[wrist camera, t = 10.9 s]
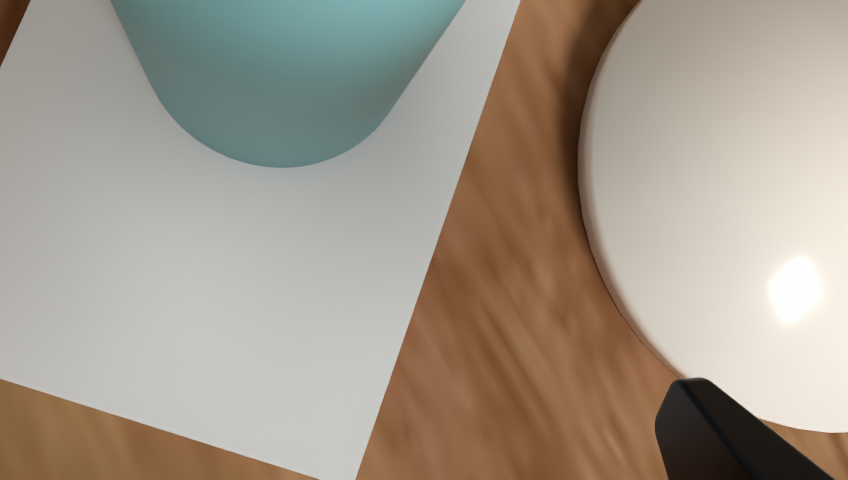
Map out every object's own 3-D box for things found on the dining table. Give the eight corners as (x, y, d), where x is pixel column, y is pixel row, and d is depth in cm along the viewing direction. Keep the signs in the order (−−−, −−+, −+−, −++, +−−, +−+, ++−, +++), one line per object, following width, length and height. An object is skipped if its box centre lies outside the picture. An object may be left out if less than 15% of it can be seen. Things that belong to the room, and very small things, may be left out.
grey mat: (348, 483, 18) (351, 489, 17) (-109, 338, 16) (-123, 339, 15) (536, -60, 20) (544, -70, 19) (148, -235, 18) (145, -253, 17)
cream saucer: (952, 490, 21) (986, 499, 20) (510, 330, 19) (523, 331, 18) (1050, 53, 23) (1085, 41, 22) (661, -136, 21) (680, -158, 20)
